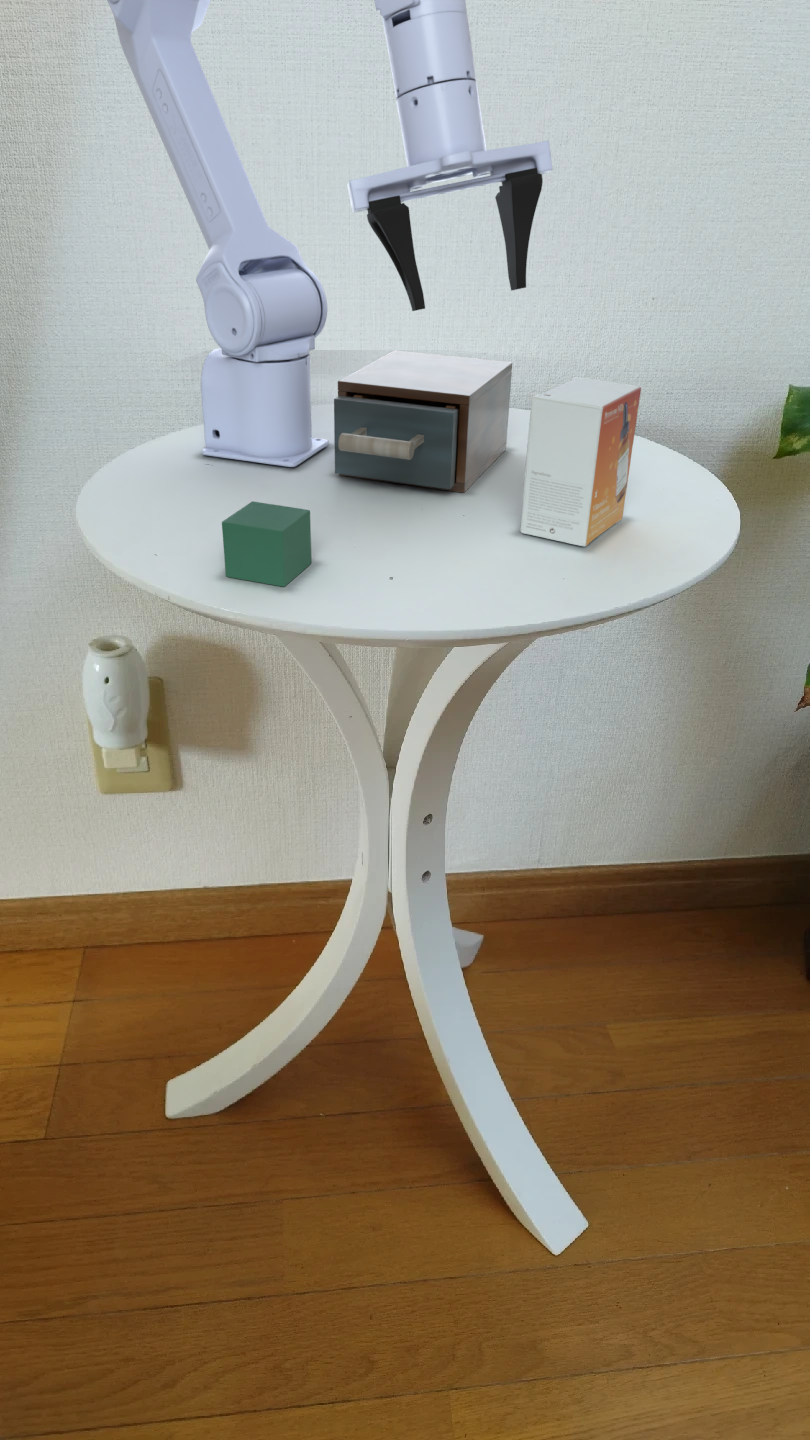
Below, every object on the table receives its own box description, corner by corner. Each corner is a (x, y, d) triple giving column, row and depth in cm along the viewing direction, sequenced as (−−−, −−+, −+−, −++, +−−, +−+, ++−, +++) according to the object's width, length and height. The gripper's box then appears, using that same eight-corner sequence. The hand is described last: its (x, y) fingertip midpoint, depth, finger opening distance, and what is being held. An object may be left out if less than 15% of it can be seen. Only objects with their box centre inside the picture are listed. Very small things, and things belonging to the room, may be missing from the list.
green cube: (225, 576, 70) (221, 521, 68) (255, 554, 74) (252, 500, 72) (284, 587, 69) (282, 531, 67) (312, 563, 72) (310, 509, 70)
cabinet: (464, 493, 86) (469, 395, 82) (338, 475, 89) (337, 380, 85) (506, 449, 97) (512, 362, 93) (392, 435, 100) (394, 350, 96)
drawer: (433, 505, 81) (436, 426, 77) (313, 488, 84) (311, 411, 80) (491, 449, 94) (495, 379, 91) (386, 435, 97) (387, 367, 94)
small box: (585, 550, 76) (602, 407, 70) (517, 534, 78) (529, 394, 73) (624, 519, 82) (644, 385, 76) (561, 505, 84) (575, 374, 79)
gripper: (338, 99, 67) (379, 318, 72) (552, 57, 67) (578, 276, 72) (331, 121, 73) (370, 320, 78) (526, 82, 74) (552, 282, 79)
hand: (468, 299), depth 76 cm, fingers open, 7 cm apart
